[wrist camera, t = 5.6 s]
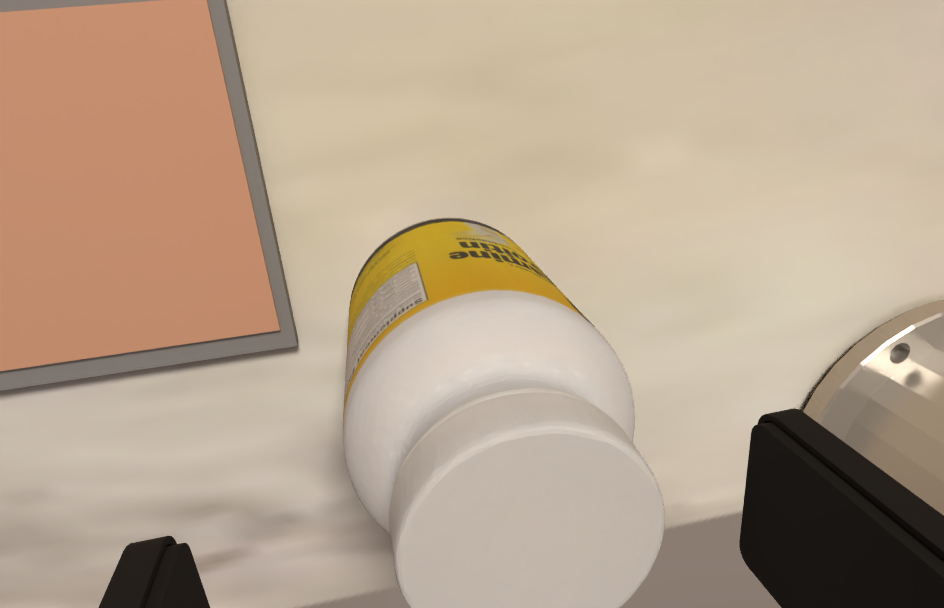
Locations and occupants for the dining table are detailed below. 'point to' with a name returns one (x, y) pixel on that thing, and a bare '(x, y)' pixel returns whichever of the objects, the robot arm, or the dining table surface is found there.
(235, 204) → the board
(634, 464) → the pill bottle
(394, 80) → the dining table surface
